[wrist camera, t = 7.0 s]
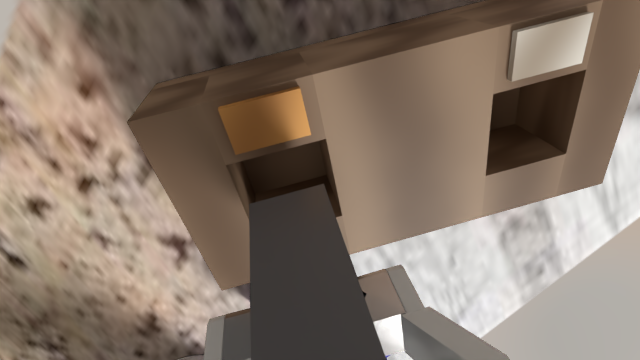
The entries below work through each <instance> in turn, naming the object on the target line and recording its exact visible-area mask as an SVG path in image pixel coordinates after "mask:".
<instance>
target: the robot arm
mask: <svg viewBox="0 0 640 360" xmlns="http://www.w3.org/2000/svg"><path fill="white" fill-rule="evenodd" d="M357 278H358V281H359V284H360V287H361V289H362V292H363V295H364V298H365V301H366V304H367V306H368V309H369V312H370V315H371V318H372V320H373V323H374V326H375V329H376V332H377V334H378V337H379V340H380V343H381V346H382V348H383V351H384V354H385V356H388V355H392V354H395V353H399V352H403V351H405V352H406V353H407V354H408V355H409V356H410V357H411V358H412V359H414V360H510V359H509V358H508V356H507V355H505V354H504V353H502V352H501V351H499V350H498V349H496V348H494V347H493V346H491V345H489V344H488V343H486V342H485V341H483V340H482V339H480V338H479V337H477V336H475V335H474V334H472V333H471V332H469V331H467V330H466V329H464V328H463V327H461V326H459V325H458V324H456V323H455V322H453V321H451V320H450V319H448V318H447V317H445V316H444V315H442V314H440V313H439V312H437V311H436V310H434V309H432V308H431V307H426V308H425V307H424V306H423V304H422V302H421V300H420V298H419V296H418V294H417V292H416V290H415V288H414V287H413V285H412V283H411V281H410V279H409V277H408V275H407V273H406V271H405V269H404V267H403V266H402V265H397V266H394V267H390V268H387V269H382V270H379V271H376V272H372V273H369V274H366V275H362V276H359V277H357ZM203 360H251V325H250V308H249V309H245V310H241V311H237V312H233V313H230V314H226V315H222V316H219V317H215V318H211V319H210V320H209V322H208V324H207V332H206V341H205V350H204V359H203Z"/></svg>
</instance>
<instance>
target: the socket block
mask: <svg viewBox="0 0 640 360" xmlns="http://www.w3.org/2000/svg"><path fill="white" fill-rule="evenodd" d="M639 70H640V0H485V1H481V2H477V3H473V4H469V5H465V6H461V7H457V8H453V9H449V10H446V11H442V12H438V13H434V14H430V15H426V16H422V17H418V18H414V19H410V20H406V21H402V22H398V23H394V24H390V25H386V26H382V27H378V28H374V29H370V30H367V31H363V32H359V33H355V34H351V35H347V36H343V37H339V38H335V39H331V40H327V41H323V42H319V43H315V44H311V45H307V46H303V47H299V48H295V49H291V50H288V51H284V52H280V53H276V54H272V55H268V56H264V57H260V58H256V59H252V60H248V61H244V62H240V63H236V64H232V65H228V66H224V67H220V68H216V69H212V70H209V71H205V72H201V73H197V74H193V75H189V76H185V77H181V78H177V79H173V80H169V81H165V82H161V83H157V84H156V85H155V86H154V88H153V89H152V90H151V91H150V93H149V94H148V95H147V97H146V98H145V99H144V101H143V102H142V103H141V105H140V106H139V107H138V109H137V110H136V111H135V112H134V114H133V115H132V116H131V118H130V119H129V120H128V122H127V123H128V125H129V127H130V129H131V130H132V132H133V134H134V136H135V138H136V139H137V141H138V143H139V145H140V146H141V148H142V150H143V152H144V154H145V155H146V157H147V159H148V161H149V162H150V164H151V166H152V168H153V170H154V171H155V173H156V175H157V177H158V178H159V180H160V182H161V184H162V185H163V187H164V189H165V191H166V193H167V194H168V196H169V198H170V200H171V201H172V203H173V205H174V207H175V209H176V210H177V212H178V214H179V216H180V217H181V219H182V221H183V223H184V225H185V226H186V228H187V230H188V232H189V233H190V235H191V237H192V239H193V240H194V242H195V244H196V246H197V248H198V249H199V251H200V253H201V255H202V256H203V258H204V260H205V262H206V264H207V265H208V267H209V269H210V271H211V272H212V274H213V276H214V278H215V280H216V281H217V283H218V285H219V287H220V288H221V290H226V289H229V288H233V287H236V286H240V285H243V284H247V283H250V237H249V204H251V203H255V202H258V201H262V200H266V199H269V198H273V197H277V196H280V195H284V194H288V193H291V192H295V191H299V190H302V189H306V188H310V187H313V186H317V185H321V184H324V186H325V189H326V191H327V194H328V197H329V200H330V203H331V205H332V208H333V211H334V214H335V217H336V219H337V222H338V225H339V228H340V231H341V233H342V236H343V239H344V242H345V245H346V247H347V250H348V253H349V255H350V254H353V253H357V252H360V251H364V250H367V249H371V248H375V247H378V246H382V245H385V244H389V243H392V242H396V241H399V240H403V239H406V238H410V237H414V236H417V235H421V234H424V233H428V232H431V231H435V230H438V229H442V228H445V227H449V226H453V225H456V224H460V223H463V222H467V221H470V220H474V219H477V218H481V217H484V216H488V215H492V214H495V213H499V212H502V211H506V210H509V209H513V208H516V207H520V206H523V205H527V204H531V203H534V202H538V201H541V200H545V199H548V198H552V197H555V196H559V195H562V194H566V193H570V192H573V191H577V190H580V189H584V188H587V187H591V186H594V185H598V184H601V183H602V182H603V179H604V176H605V173H606V170H607V167H608V164H609V161H610V158H611V155H612V152H613V149H614V146H615V143H616V140H617V137H618V133H619V130H620V127H621V124H622V121H623V118H624V115H625V112H626V109H627V106H628V103H629V100H630V97H631V94H632V91H633V88H634V85H635V82H636V79H637V76H638V73H639Z"/></svg>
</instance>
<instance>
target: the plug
mask: <svg viewBox="0 0 640 360" xmlns="http://www.w3.org/2000/svg"><path fill="white" fill-rule="evenodd" d="M249 237H250V325H251V360H386V357H385V354H384V351H383V348H382V346H381V343H380V340H379V337H378V334H377V332H376V329H375V326H374V323H373V320H372V318H371V315H370V312H369V309H368V306H367V304H366V301H365V298H364V295H363V292H362V289H361V287H360V284H359V281H358V278H357V275H356V273H355V270H354V267H353V264H352V261H351V259H350V256H349V253H348V250H347V247H346V245H345V242H344V239H343V236H342V233H341V231H340V228H339V225H338V222H337V219H336V217H335V214H334V211H333V208H332V205H331V203H330V200H329V197H328V194H327V191H326V189H325V186H324V184H321V185H317V186H313V187H310V188H306V189H302V190H299V191H295V192H291V193H288V194H284V195H280V196H277V197H273V198H269V199H266V200H262V201H258V202H255V203H251V204H249Z"/></svg>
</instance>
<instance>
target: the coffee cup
mask: <svg viewBox="0 0 640 360" xmlns="http://www.w3.org/2000/svg"><path fill="white" fill-rule="evenodd" d="M203 359H204V355H193V356H187V357H183V358H180V359H177V360H203Z"/></svg>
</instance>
